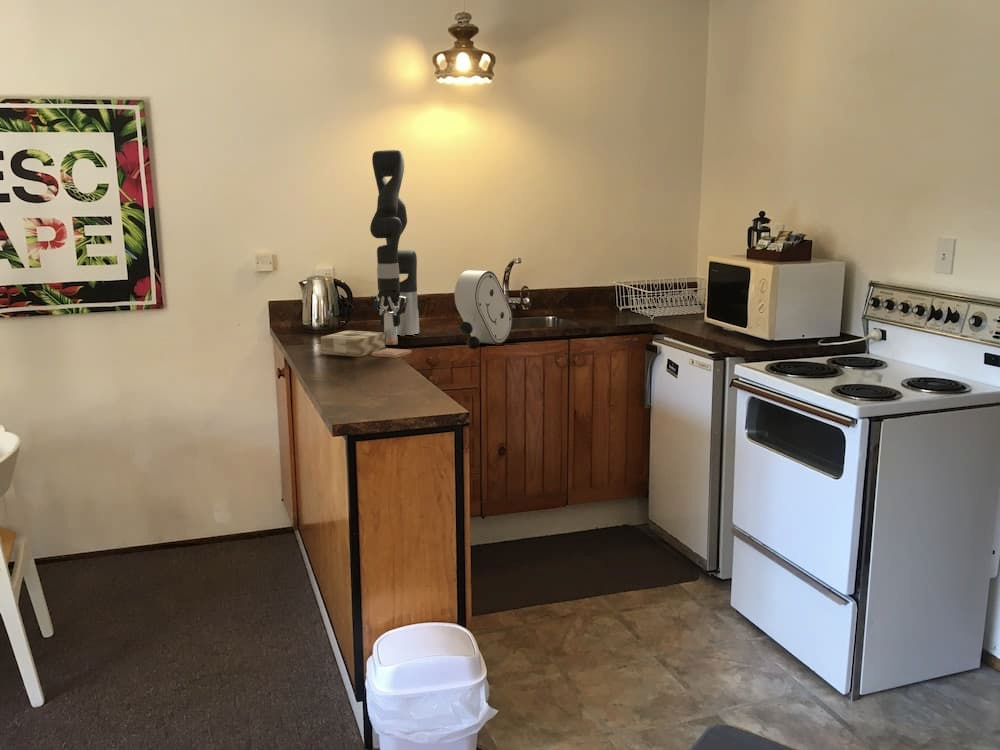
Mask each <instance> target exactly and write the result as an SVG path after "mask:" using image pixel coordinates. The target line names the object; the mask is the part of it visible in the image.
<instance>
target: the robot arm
mask: <svg viewBox="0 0 1000 750" xmlns="http://www.w3.org/2000/svg"><path fill="white" fill-rule="evenodd" d="M371 160H372V161H371V162H372V168H373V172H374V179H375V182H376V186H377V190H378V196H377V205H376V211H375V213H374V216H373V217H372V220H371V223H370V227H369V228H370V229H369V230H370V233H371V235H372V237H374V238H375V239H385V240H386V241H385V242H386V243H385V244H383V245H380V246H378V247H377V248H376V258H377V259H376V260H377V267H376V276H377V290H378V293H377V295H372V296H371V297H370V300H371V303H372V306H373V310H374V313H375V314H379V317H380V319H379V320H380V325H381V326H383V327H384V315H383V312H388V311H387V310H388V308H389V307H390V309H391V311H392V312H393V313H394V326H395V327H397V335H400V336H399V337H406V336H405V335H413V336H415V335H414V334H418V333H419V334H420V315H419V313H420V312H419V308H418V306H419V305H418V282H417V281H418V280H417V276H418V275H417V274H418V273H417V272H418V271H417V270H418V268H417V267H418V259H417V253H416V252H415V250H414V249H412V250H411V249H399V243H400V237H401V236H402V234H403V232H404V231H405V229H406V227H407V224H408V215H407V209H406V208H407V207H406V204H405V203H404V201H403V200H402V198H401V197H400V196H399V195H400V190H401V188H402V187H401V186H402V182H403V178H404V173H405V159H404V153H402V151H401V150H399V149H390V150H389V149H386V150H383V149H382V150H376V151H375V150H374V152H373V153H372V158H371ZM386 177H387V178H388V177H389V178H390V177H391V178H390V179H389V180H388V181H387V178H386ZM400 275H407V277H406V278H405V279H404V280H402V281H401V280H400ZM419 334H418V335H419Z"/></svg>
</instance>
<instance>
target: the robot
mask: <svg viewBox="0 0 1000 750" xmlns="http://www.w3.org/2000/svg"><path fill="white" fill-rule="evenodd" d="M454 303H455V307H456V309H457V312H458V313H459V315H460V317H461V319H462V322H461V323H460V324H459V326H458V329H459V332H460V333H461V334H463V335H464V336H467V335H469V337H468V338H466V339H467V340H466V346H467V347H468V348H470V349H471V350H475V349H478V348H479V347H480V345H481V344H487V345H488V344H489V345H499V346H500V345H502V344H504V343H505V342H506V341H507V340H508V338H509V336H510V334H511V331H512V327H513V311H512V309H511V305H510V303H509V301H508V299H507V297H506V295H505V292H504V290H503V288H502V286H501V283H500V280H499V279H498V277H497V276H496V274H495V273H494V272H493V271H490V270H473V269H469V270H465V271H463V272H461V274H460V276H459V277H458V279H457V281H456V283H455V287H454Z"/></svg>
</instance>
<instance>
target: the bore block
mask: <svg viewBox="0 0 1000 750" xmlns="http://www.w3.org/2000/svg"><path fill="white" fill-rule="evenodd" d="M320 348H321V354H322V355H330V356H331V355H332V356H343V357H344V356H346V357H357V358H360V357H364V356H367V355H369V354H370V355H371V353H373V352H377V351H380V350H383V349H386V344H385V334H384V332H382V331H381V332H379V331H378V332H377V331H363V330H350V329H349V330H343V331H339V332H335V333H332V334H327V335H323V336H320Z"/></svg>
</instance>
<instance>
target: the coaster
mask: <svg viewBox="0 0 1000 750" xmlns="http://www.w3.org/2000/svg"><path fill="white" fill-rule="evenodd" d="M409 354H412V349H403V348H401V349H400V348H391V347H390V348H385V349H383V350H380V351H377V352H373V353H370V355H371V357H383V358H395V359H397V358H400V357H403V356H407V355H409Z"/></svg>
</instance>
